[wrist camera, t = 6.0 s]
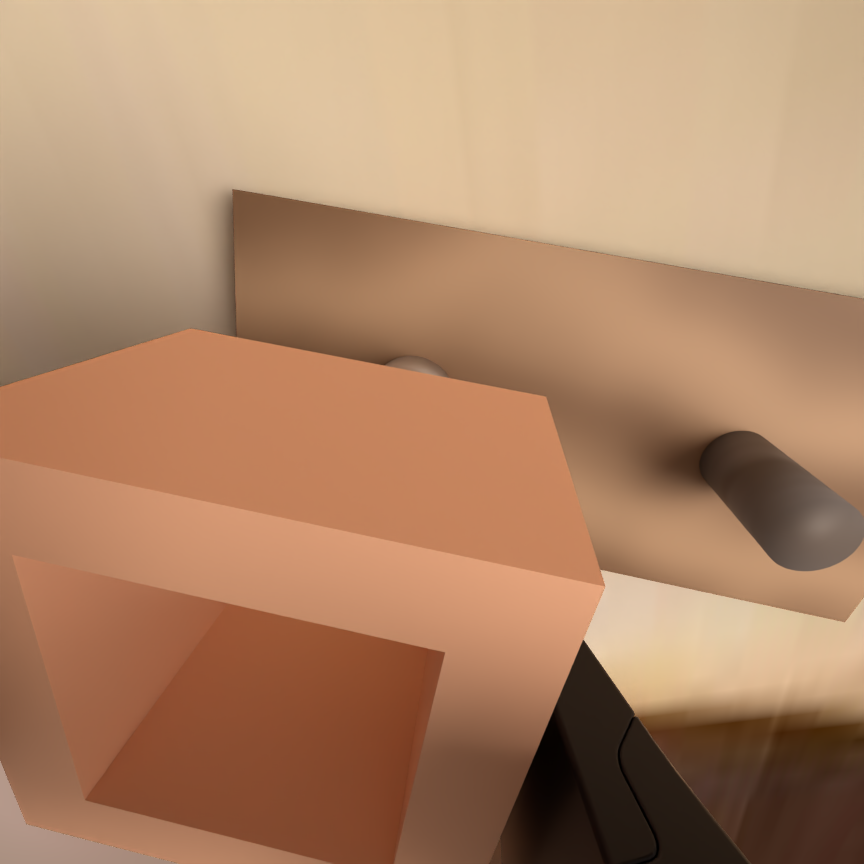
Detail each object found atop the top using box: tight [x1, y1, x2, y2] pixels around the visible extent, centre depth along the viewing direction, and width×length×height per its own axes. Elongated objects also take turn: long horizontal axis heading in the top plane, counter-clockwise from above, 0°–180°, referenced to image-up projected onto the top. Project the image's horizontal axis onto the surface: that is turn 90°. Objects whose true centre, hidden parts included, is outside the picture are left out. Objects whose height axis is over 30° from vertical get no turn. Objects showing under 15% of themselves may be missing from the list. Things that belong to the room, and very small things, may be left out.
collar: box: [0, 328, 605, 864], centre depth 8 cm, size 7×7×5 cm
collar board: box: [233, 189, 864, 622], centre depth 15 cm, size 12×26×6 cm, turn 81°
